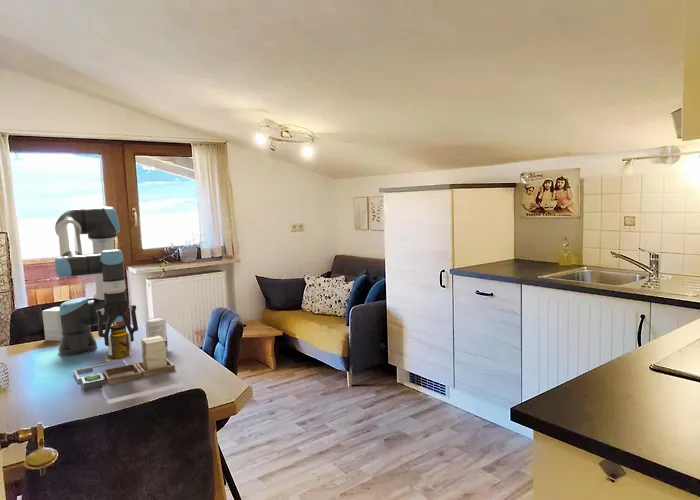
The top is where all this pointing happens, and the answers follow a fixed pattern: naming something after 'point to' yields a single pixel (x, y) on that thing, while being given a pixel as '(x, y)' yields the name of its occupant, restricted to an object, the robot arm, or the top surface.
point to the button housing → (92, 383)
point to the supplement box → (52, 324)
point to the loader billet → (153, 353)
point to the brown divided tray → (133, 372)
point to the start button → (92, 377)
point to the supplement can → (157, 329)
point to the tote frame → (92, 369)
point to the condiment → (119, 343)
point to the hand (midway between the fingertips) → (120, 351)
